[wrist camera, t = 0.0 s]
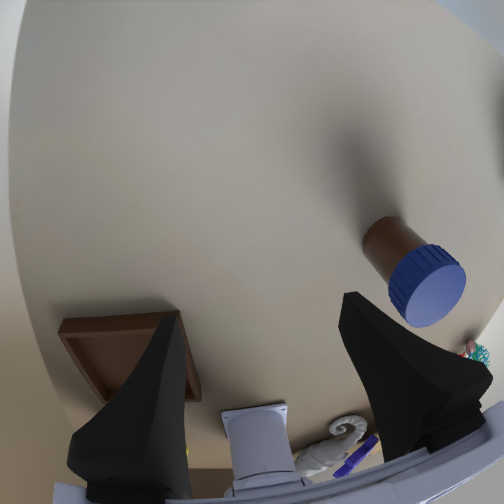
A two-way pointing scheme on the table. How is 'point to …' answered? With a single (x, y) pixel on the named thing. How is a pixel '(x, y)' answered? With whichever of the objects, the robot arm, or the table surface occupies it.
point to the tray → (118, 350)
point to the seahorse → (330, 447)
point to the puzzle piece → (356, 457)
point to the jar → (389, 245)
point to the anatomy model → (471, 352)
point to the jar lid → (426, 285)
